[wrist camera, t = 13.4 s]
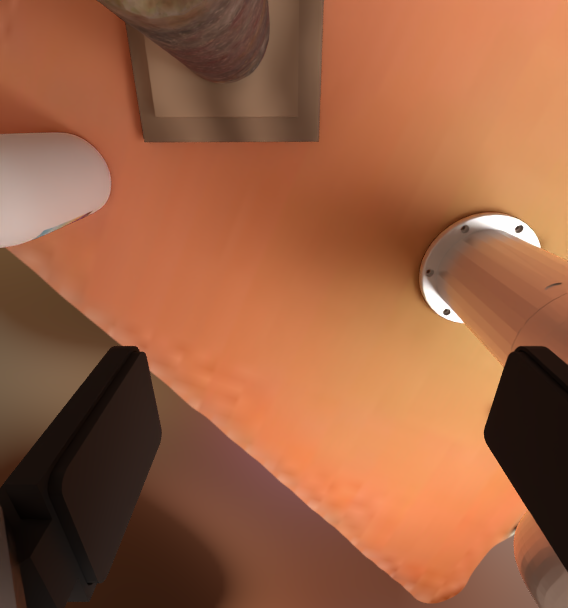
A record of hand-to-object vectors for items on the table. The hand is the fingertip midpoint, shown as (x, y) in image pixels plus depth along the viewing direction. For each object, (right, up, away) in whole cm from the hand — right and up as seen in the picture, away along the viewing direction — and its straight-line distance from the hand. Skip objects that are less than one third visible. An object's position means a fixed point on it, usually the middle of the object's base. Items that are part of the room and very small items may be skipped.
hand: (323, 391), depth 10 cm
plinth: (-6, +25, +21) cm, 34 cm away
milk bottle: (-22, +15, +27) cm, 38 cm away
